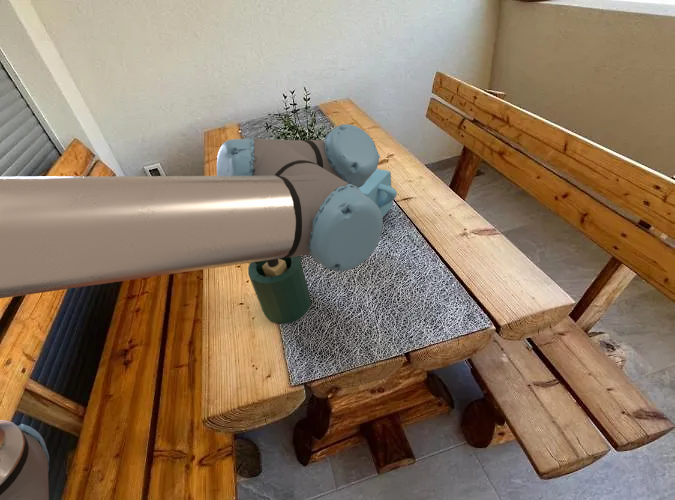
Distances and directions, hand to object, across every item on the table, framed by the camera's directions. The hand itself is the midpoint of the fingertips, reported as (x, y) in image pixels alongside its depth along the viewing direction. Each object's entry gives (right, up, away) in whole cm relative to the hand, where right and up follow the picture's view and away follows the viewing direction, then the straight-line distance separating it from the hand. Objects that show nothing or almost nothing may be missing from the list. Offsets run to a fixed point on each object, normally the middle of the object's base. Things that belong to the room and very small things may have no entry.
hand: (258, 254), depth 79 cm
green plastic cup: (+5, -11, +6) cm, 14 cm away
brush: (+4, -6, +2) cm, 7 cm away
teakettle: (+22, +10, +29) cm, 37 cm away
